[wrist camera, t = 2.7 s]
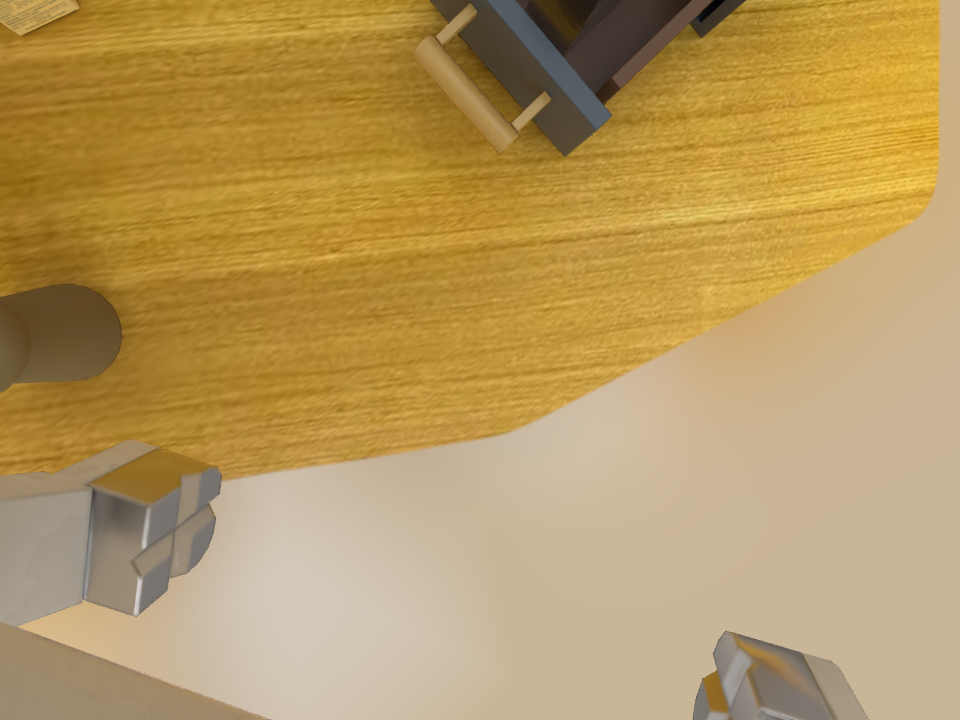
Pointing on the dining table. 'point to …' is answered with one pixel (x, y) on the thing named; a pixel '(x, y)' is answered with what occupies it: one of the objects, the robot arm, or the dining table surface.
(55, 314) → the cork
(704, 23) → the cabinet
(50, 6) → the candy box
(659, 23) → the drawer
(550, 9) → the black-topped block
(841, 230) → the dining table surface
